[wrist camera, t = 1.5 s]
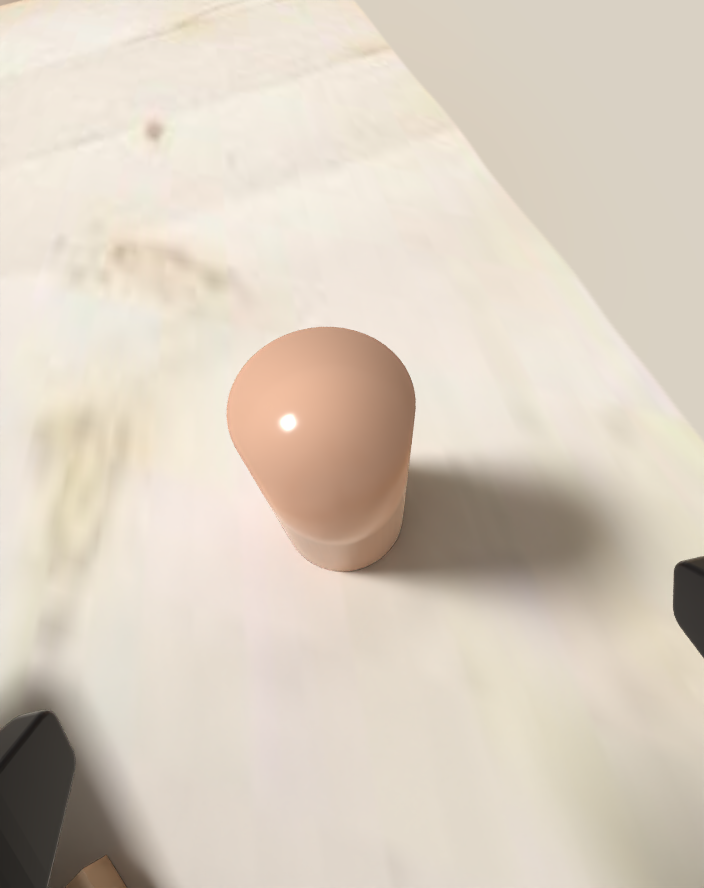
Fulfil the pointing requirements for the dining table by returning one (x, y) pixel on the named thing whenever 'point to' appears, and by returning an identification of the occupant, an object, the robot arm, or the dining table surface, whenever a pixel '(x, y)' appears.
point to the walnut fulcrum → (98, 876)
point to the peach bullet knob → (328, 441)
